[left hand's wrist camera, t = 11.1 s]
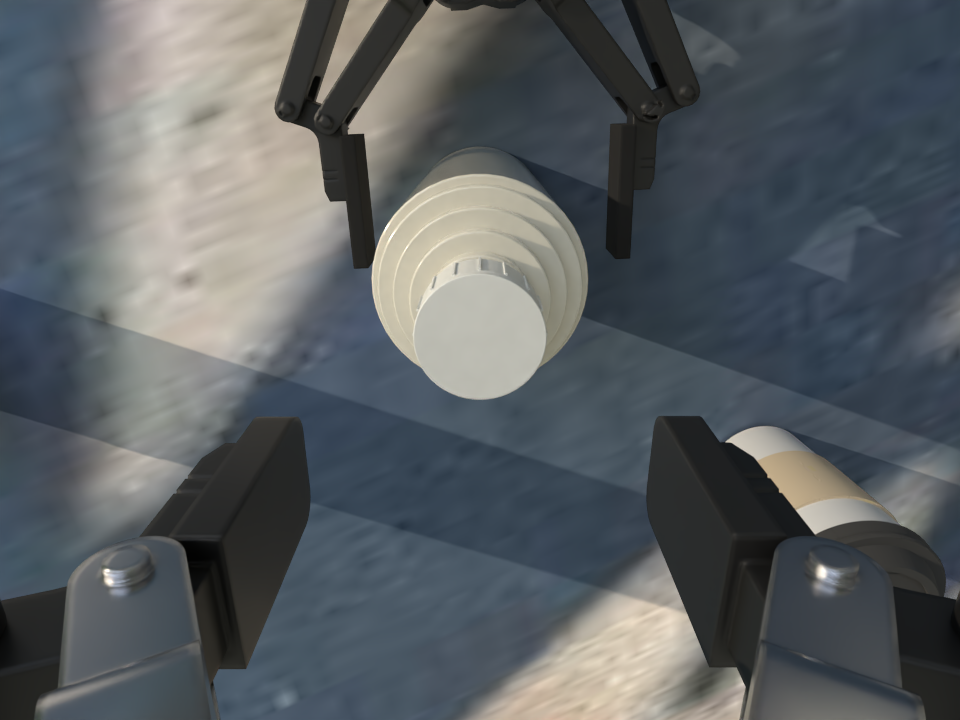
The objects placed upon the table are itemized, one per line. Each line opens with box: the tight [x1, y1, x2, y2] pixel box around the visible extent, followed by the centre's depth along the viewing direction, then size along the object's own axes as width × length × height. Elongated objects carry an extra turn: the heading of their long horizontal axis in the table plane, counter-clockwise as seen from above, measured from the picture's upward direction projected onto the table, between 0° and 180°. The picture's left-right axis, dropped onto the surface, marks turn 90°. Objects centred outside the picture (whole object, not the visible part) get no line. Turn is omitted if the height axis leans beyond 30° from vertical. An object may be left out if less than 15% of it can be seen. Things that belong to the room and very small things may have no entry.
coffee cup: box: [726, 426, 946, 597], centre depth 39 cm, size 9×9×15 cm
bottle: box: [372, 147, 588, 368], centre depth 29 cm, size 8×8×22 cm
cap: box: [412, 257, 548, 400], centre depth 19 cm, size 4×4×2 cm
